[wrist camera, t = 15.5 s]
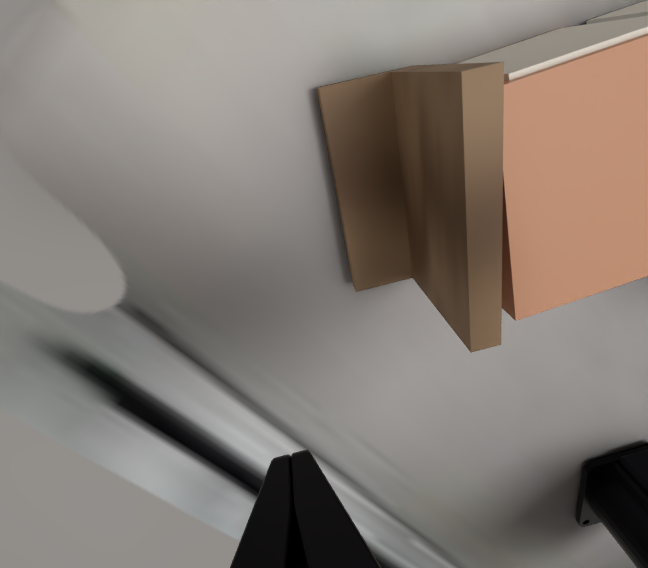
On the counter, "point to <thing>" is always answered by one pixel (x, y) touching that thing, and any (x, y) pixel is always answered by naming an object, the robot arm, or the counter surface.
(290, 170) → the counter surface
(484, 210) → the bracket
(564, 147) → the rust book
